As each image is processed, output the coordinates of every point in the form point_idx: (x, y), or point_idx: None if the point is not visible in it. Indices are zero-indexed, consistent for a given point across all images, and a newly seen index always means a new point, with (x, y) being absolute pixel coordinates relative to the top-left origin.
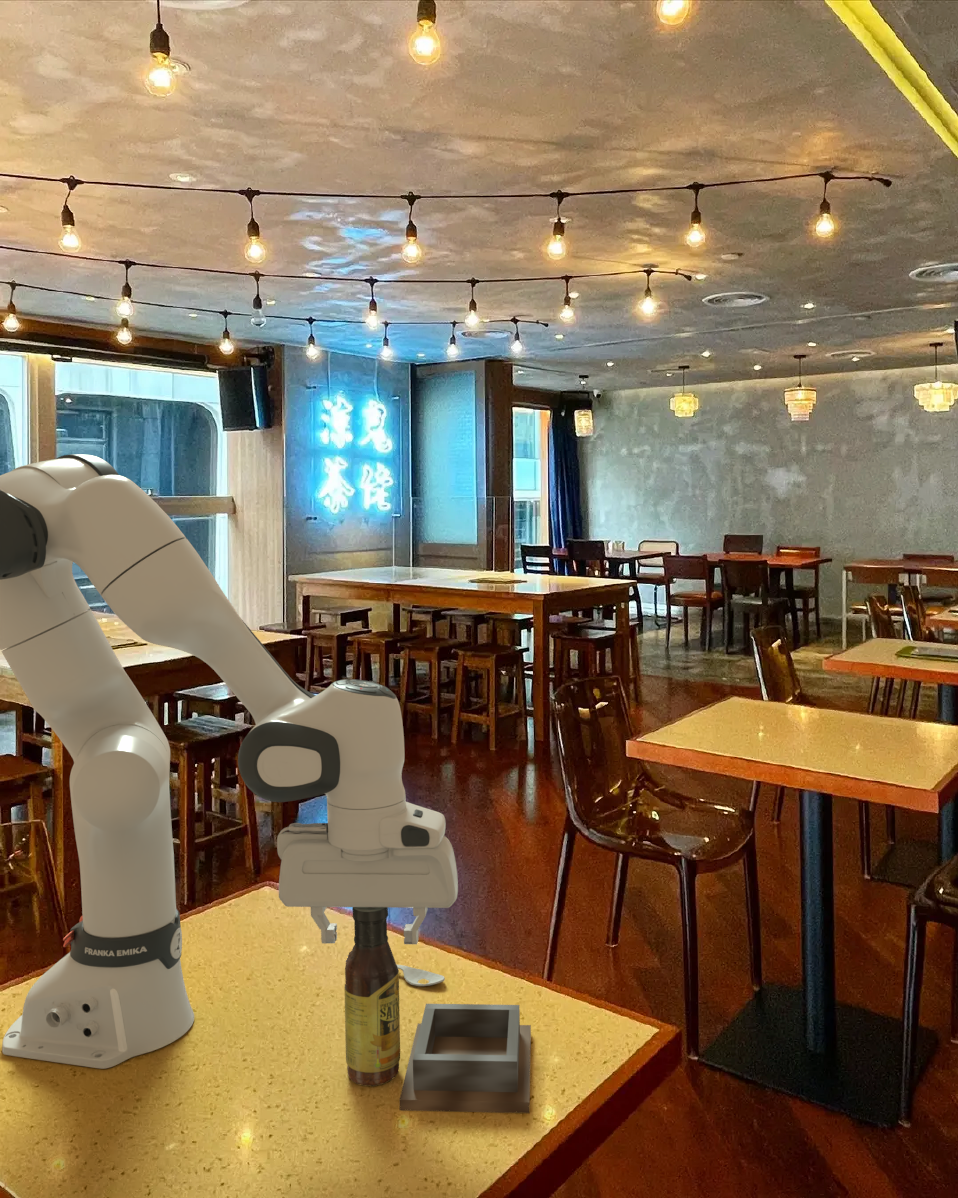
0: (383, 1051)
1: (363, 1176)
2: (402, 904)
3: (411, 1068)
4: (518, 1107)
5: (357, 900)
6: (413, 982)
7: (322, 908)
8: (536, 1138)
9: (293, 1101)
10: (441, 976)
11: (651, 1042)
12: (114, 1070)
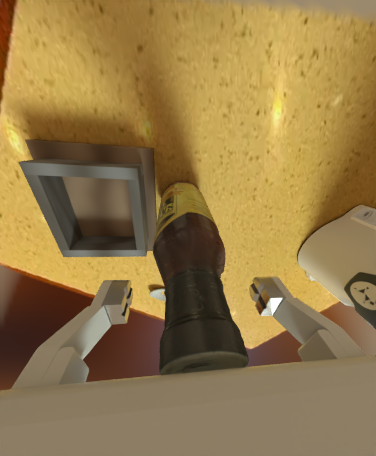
0: (171, 191)
1: (169, 23)
2: (77, 403)
3: (150, 196)
4: (40, 140)
5: (258, 406)
6: None
7: (333, 351)
8: (7, 92)
9: (239, 164)
10: (152, 296)
11: None
12: (353, 204)
